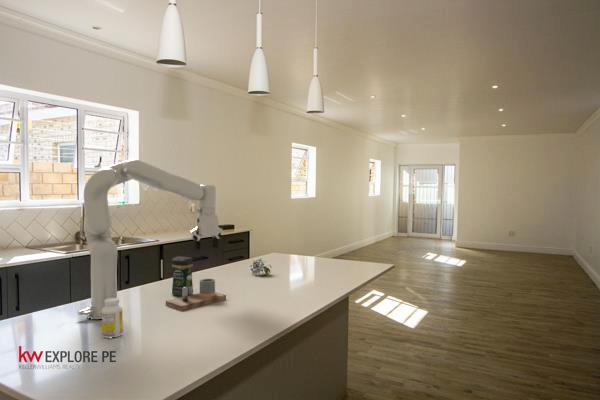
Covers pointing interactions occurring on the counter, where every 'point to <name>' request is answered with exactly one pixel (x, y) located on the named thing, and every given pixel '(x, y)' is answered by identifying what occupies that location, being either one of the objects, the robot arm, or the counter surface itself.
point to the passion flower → (259, 267)
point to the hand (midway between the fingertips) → (206, 248)
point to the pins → (185, 294)
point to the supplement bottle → (112, 318)
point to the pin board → (194, 301)
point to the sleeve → (207, 287)
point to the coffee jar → (182, 275)
